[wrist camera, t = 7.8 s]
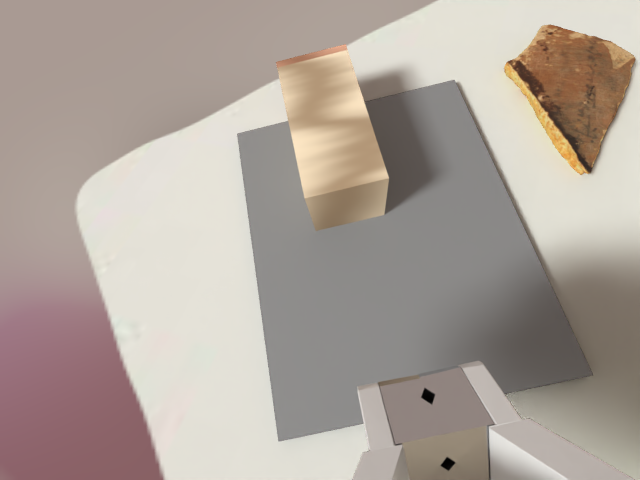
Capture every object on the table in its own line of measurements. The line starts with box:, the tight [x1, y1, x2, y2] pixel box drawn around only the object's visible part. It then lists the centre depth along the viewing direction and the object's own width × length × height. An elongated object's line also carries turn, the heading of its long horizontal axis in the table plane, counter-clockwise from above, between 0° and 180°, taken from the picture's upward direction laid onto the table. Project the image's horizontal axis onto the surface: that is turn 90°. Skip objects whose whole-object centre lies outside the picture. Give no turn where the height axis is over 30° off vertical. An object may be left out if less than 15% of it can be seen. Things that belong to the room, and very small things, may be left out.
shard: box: [504, 25, 635, 175], centre depth 24 cm, size 11×8×2 cm
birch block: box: [276, 45, 389, 231], centre depth 22 cm, size 4×4×10 cm
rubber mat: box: [237, 80, 593, 442], centre depth 22 cm, size 16×20×1 cm
